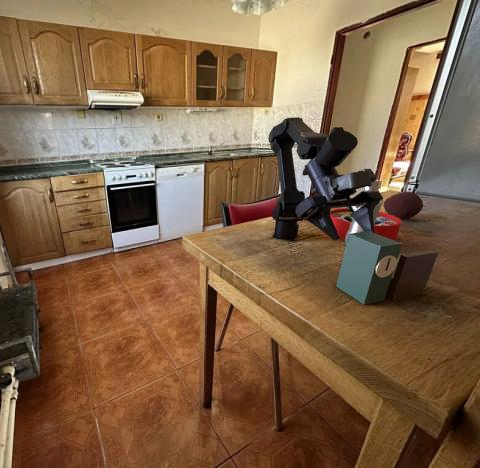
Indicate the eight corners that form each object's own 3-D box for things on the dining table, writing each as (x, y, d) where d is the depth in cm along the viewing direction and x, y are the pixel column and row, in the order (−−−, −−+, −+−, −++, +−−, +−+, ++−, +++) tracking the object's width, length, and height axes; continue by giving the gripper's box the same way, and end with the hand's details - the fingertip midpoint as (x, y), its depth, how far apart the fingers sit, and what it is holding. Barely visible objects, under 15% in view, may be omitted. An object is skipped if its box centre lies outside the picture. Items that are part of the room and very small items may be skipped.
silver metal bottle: (362, 254, 73) (381, 184, 66) (338, 246, 78) (353, 180, 71) (375, 249, 76) (394, 181, 68) (350, 241, 81) (366, 178, 74)
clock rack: (349, 276, 62) (359, 238, 59) (376, 271, 64) (387, 234, 60) (392, 300, 53) (407, 257, 50) (422, 294, 55) (439, 252, 51)
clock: (335, 286, 58) (348, 233, 54) (354, 283, 59) (368, 231, 55) (365, 306, 52) (383, 247, 47) (386, 302, 53) (405, 244, 48)
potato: (373, 217, 102) (380, 192, 98) (391, 212, 107) (399, 188, 103) (406, 225, 93) (415, 197, 89) (425, 219, 98) (435, 193, 94)
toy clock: (332, 205, 99) (399, 213, 88) (329, 220, 101) (395, 229, 90) (324, 219, 84) (404, 230, 73) (320, 235, 87) (398, 249, 75)
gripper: (312, 158, 53) (346, 225, 47) (386, 154, 57) (426, 215, 50) (284, 189, 63) (308, 247, 57) (347, 183, 67) (377, 238, 60)
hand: (354, 237), depth 56 cm, fingers open, 9 cm apart
